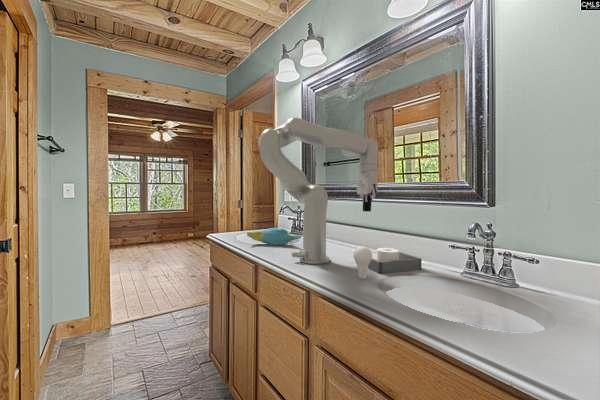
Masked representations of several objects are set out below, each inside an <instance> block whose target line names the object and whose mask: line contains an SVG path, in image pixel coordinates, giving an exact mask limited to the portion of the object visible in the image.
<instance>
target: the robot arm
mask: <svg viewBox="0 0 600 400" xmlns="http://www.w3.org/2000/svg"><path fill="white" fill-rule="evenodd" d="M296 141H299V142H302V143H306V144H309V145H312V146H314V147H317V148H334V149H335V148H336V149H340V152H341V154H342V155H343V156H345V157H348V158H354V157H359V165H358V167H359V168H358V169H359V172H358V174H357V175H358V176H357V180H356V181H357V184H356V194H357V195H359V198H361V200H362V201H361V202H362V211H363V212H372V202H373V199H376V195H377V194H378V187H379V185H378V184H379V182H378V157H379V155H378V154H379V143H378V141H377V140H376V139H366V138H365V137H363V136H362V135H360V134H357V133H354V132H351V131H348V130H343V129H340V128H332V127H326V126H323V125H320V124H317V123H314V122H311V121H308V120H306V119H303V118H300V117H291V118H289V119H288V120H287V121H286V122H285V123H284V124H283V125H280V126H278V127H277V128H267V129H265V130H263V131H262V132H261V134H260V136H259V138H258V141H257V145H258V146H257V147H259V155H260V158H261V161H262V163H263V165H264V166H265V167H266V169H267V170H268V171H269V172H271V173H272V174H273V175H274V176H275V177H276V178H277V179H278V180H279V181H280V185H281V187H282V188H283V189H284V191H286V192H287V193H288V194H290V196H292V197H293V198H294V199H295V200H296V201H298V203H300V204H302V205H303V206H304V207H303V216H302V217H303V218H302V223H303V225H302V226H303V230H302V231H303V233H302V236H303V239H302V240H303V241H302V244H303V247H302V248H301V249H300V251H293V252H292V253H291V256H292V258H297V259H298V258H299V262H301V263H303V264H309V265H323V264H327V263H329V262H330V257H329V256H327V209H328V203H329V197H328V196H329V195H328V193H327V190H326V189H325V188H324V186H321V185H319V184H311V183H310V182H309V181H308V180H307V175H306V174H305V172H304V171H303V170H302V169H300V168H299V167H298V166H297V165H296V164H294V163H293V162H292V161H291V160H290V159H289V158H288V157H287V156H285V154H284V153H283V151H282V149H283V148H285V147H287V146H289V145H290V144H292V143H294V142H296Z"/></svg>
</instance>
